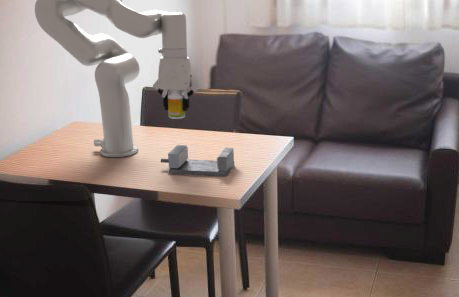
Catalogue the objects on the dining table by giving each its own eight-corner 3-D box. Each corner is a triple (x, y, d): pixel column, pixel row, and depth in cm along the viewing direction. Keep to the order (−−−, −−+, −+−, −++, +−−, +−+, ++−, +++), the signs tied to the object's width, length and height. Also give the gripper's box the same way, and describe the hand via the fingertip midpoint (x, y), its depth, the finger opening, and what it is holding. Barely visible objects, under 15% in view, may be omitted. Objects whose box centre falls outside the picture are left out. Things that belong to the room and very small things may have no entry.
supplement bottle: (182, 119, 215) (181, 89, 212) (166, 118, 216) (165, 88, 213) (187, 115, 220) (186, 85, 217) (171, 114, 221) (170, 84, 218)
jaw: (156, 167, 207) (155, 153, 206) (166, 158, 216) (165, 144, 214) (179, 168, 206) (178, 154, 204) (188, 159, 214) (187, 145, 213)
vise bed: (168, 174, 207) (167, 155, 205) (179, 163, 216) (177, 145, 214) (226, 176, 202) (225, 157, 200) (234, 165, 211) (233, 147, 210)
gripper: (144, 54, 210) (147, 111, 216) (197, 56, 206) (199, 114, 212) (152, 50, 217) (155, 105, 223) (204, 51, 213) (205, 108, 219)
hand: (176, 109), depth 217 cm, fingers closed on supplement bottle, 5 cm apart
